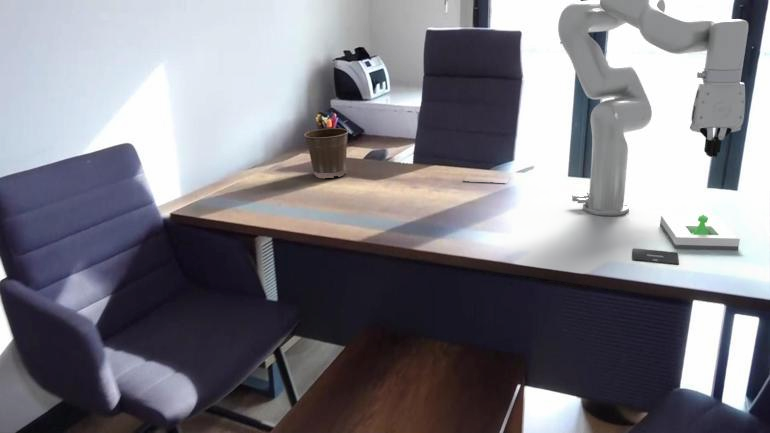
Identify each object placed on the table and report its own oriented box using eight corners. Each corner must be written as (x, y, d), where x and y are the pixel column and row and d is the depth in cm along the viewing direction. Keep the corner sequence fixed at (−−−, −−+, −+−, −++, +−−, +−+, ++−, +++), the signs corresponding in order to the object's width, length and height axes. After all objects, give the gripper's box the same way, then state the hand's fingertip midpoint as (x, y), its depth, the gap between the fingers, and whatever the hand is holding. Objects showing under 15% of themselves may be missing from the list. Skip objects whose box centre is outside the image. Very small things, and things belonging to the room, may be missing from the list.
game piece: (689, 234, 154) (692, 211, 152) (708, 235, 152) (711, 212, 150) (691, 240, 150) (694, 217, 148) (711, 241, 149) (714, 218, 147)
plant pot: (302, 181, 221) (298, 137, 216) (314, 169, 236) (310, 128, 231) (346, 181, 218) (342, 136, 213) (355, 169, 233) (352, 127, 228)
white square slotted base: (675, 248, 148) (676, 237, 147) (659, 225, 163) (661, 215, 162) (738, 250, 145) (739, 238, 144) (716, 226, 160) (718, 216, 159)
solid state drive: (678, 266, 139) (679, 263, 139) (631, 261, 143) (632, 259, 143) (677, 255, 145) (677, 252, 145) (632, 250, 149) (632, 248, 149)
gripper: (691, 79, 136) (681, 159, 142) (764, 78, 133) (751, 159, 139) (682, 75, 143) (673, 151, 149) (752, 73, 140) (740, 151, 146)
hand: (711, 155), depth 144 cm, fingers closed
